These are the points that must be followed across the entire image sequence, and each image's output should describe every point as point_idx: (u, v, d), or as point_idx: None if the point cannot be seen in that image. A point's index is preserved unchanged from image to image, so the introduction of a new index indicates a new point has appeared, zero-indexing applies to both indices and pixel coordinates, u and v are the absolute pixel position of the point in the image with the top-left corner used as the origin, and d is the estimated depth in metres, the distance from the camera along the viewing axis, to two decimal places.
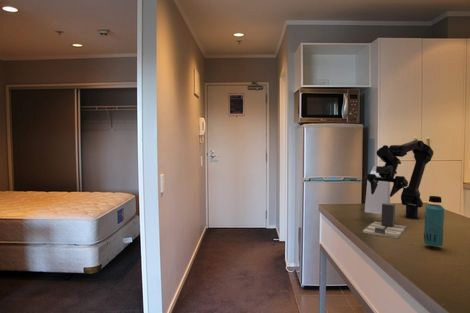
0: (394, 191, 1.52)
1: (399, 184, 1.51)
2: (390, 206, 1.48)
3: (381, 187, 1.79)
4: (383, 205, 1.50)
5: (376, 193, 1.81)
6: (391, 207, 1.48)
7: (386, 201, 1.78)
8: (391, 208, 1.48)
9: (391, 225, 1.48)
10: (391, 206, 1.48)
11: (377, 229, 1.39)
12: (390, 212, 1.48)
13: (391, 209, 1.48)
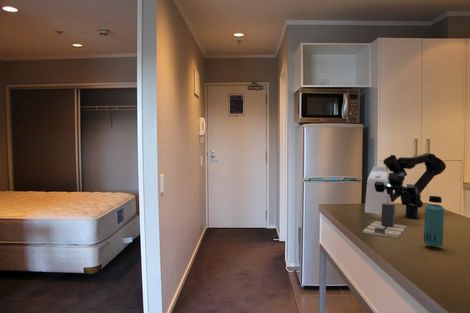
0: (395, 197, 1.58)
1: (400, 191, 1.58)
2: (390, 206, 1.48)
3: None
4: (383, 205, 1.50)
5: (376, 193, 1.81)
6: (391, 207, 1.48)
7: (386, 201, 1.78)
8: (391, 208, 1.48)
9: (391, 225, 1.48)
10: (391, 206, 1.48)
11: (377, 229, 1.39)
12: (390, 212, 1.48)
13: (391, 209, 1.48)
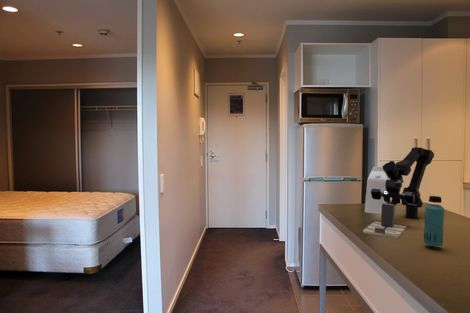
0: None
1: (397, 198, 1.53)
2: (390, 207, 1.48)
3: (381, 187, 1.79)
4: (383, 205, 1.50)
5: None
6: (391, 207, 1.48)
7: None
8: (391, 208, 1.48)
9: (391, 225, 1.48)
10: (391, 206, 1.48)
11: (377, 229, 1.39)
12: (390, 212, 1.48)
13: (391, 209, 1.48)
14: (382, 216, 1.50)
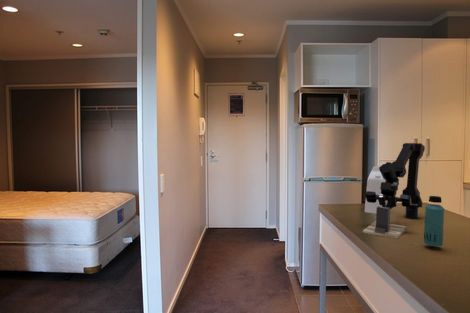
0: None
1: (393, 202, 1.45)
2: (385, 210, 1.40)
3: None
4: (378, 209, 1.42)
5: (376, 193, 1.81)
6: (386, 211, 1.40)
7: (386, 201, 1.78)
8: (386, 212, 1.40)
9: (386, 230, 1.40)
10: (386, 210, 1.40)
11: (377, 229, 1.39)
12: (385, 216, 1.40)
13: (386, 213, 1.40)
14: (377, 220, 1.42)
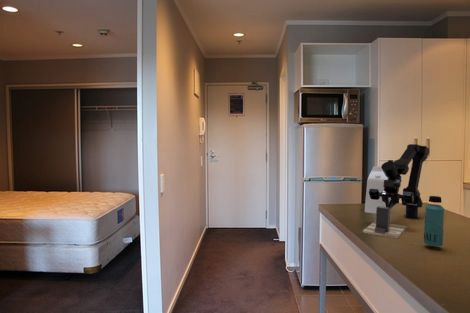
0: (391, 205, 1.49)
1: (396, 199, 1.50)
2: (385, 210, 1.40)
3: (381, 187, 1.79)
4: (378, 209, 1.42)
5: None
6: (386, 211, 1.40)
7: None
8: (386, 212, 1.40)
9: (386, 230, 1.40)
10: (386, 210, 1.40)
11: (377, 229, 1.39)
12: (385, 216, 1.40)
13: (386, 213, 1.40)
14: (377, 220, 1.42)
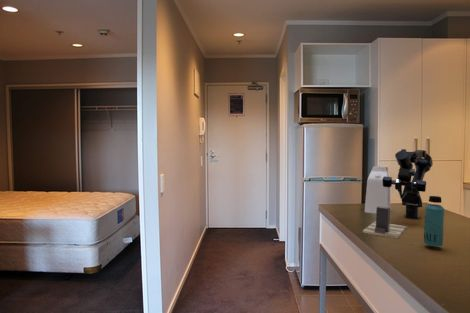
0: (405, 193, 1.54)
1: (409, 187, 1.55)
2: (385, 210, 1.40)
3: (381, 187, 1.79)
4: (378, 209, 1.42)
5: (376, 193, 1.81)
6: (386, 211, 1.40)
7: (386, 201, 1.78)
8: (386, 212, 1.40)
9: (386, 230, 1.40)
10: (386, 210, 1.40)
11: (377, 229, 1.39)
12: (385, 216, 1.40)
13: (386, 213, 1.40)
14: (377, 220, 1.42)
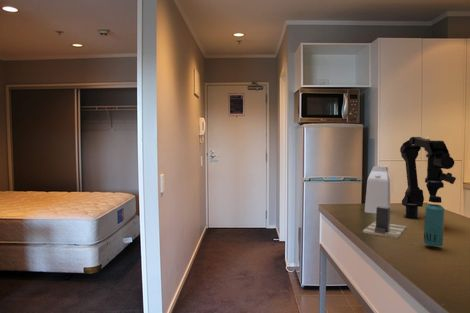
0: None
1: None
2: (385, 210, 1.40)
3: (381, 187, 1.79)
4: (378, 209, 1.42)
5: (376, 193, 1.81)
6: (386, 211, 1.40)
7: (386, 201, 1.78)
8: (386, 212, 1.40)
9: (386, 230, 1.40)
10: (386, 210, 1.40)
11: (377, 229, 1.39)
12: (385, 216, 1.40)
13: (386, 213, 1.40)
14: (377, 220, 1.42)
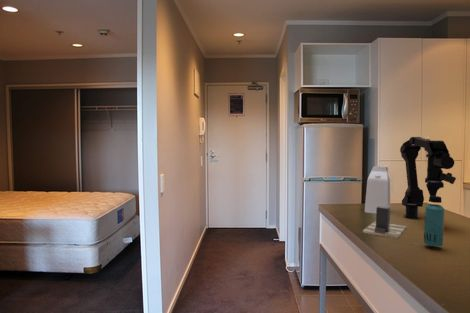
0: None
1: None
2: (385, 210, 1.40)
3: (381, 187, 1.79)
4: (378, 209, 1.42)
5: (376, 193, 1.81)
6: (386, 211, 1.40)
7: (386, 201, 1.78)
8: (386, 212, 1.40)
9: (386, 230, 1.40)
10: (386, 210, 1.40)
11: (377, 229, 1.39)
12: (385, 216, 1.40)
13: (386, 213, 1.40)
14: (377, 220, 1.42)
